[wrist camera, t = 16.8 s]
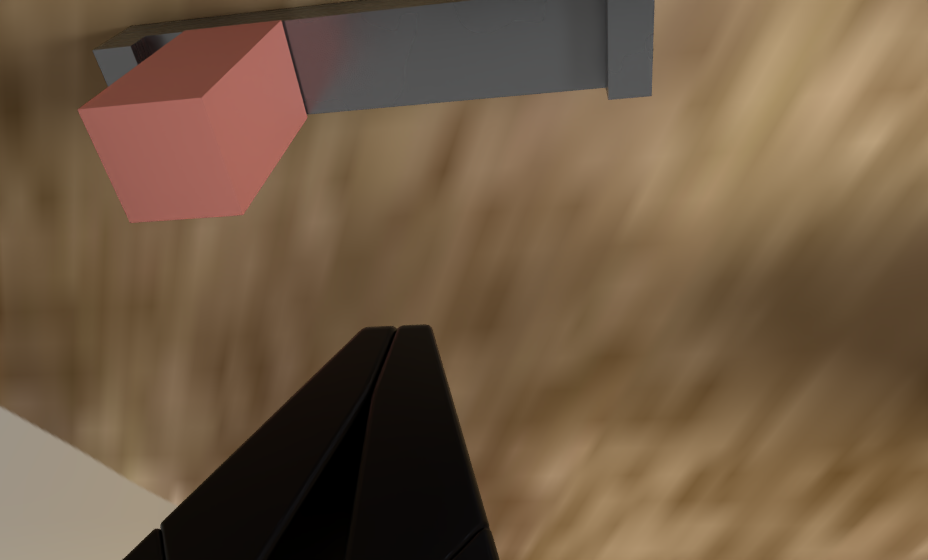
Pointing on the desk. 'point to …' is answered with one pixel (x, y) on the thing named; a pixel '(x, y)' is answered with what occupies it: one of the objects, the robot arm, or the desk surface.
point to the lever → (198, 122)
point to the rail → (437, 49)
